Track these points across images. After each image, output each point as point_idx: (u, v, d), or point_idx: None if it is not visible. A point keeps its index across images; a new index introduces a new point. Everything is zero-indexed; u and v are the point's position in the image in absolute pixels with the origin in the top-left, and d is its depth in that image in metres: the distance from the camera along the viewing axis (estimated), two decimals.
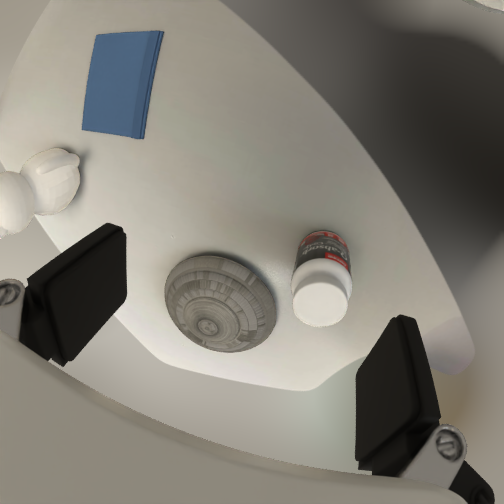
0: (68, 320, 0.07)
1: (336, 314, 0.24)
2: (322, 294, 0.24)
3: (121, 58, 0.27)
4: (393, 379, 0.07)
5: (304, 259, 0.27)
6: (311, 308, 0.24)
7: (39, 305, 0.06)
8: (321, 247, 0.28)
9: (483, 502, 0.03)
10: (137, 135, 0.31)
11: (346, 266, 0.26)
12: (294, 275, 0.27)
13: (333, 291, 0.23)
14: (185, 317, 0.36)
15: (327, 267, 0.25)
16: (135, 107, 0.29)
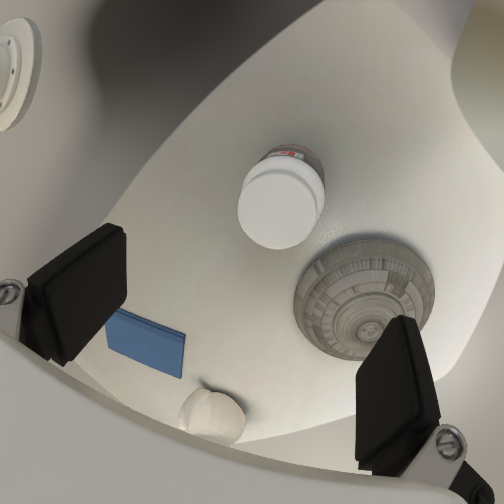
0: (68, 320, 0.07)
1: (288, 189, 0.16)
2: (255, 211, 0.17)
3: (123, 335, 0.40)
4: (393, 379, 0.07)
5: None
6: (281, 224, 0.17)
7: (39, 305, 0.06)
8: None
9: (483, 502, 0.03)
10: (180, 339, 0.37)
11: (255, 164, 0.20)
12: None
13: (248, 196, 0.17)
14: (360, 350, 0.27)
15: None
16: (158, 334, 0.38)
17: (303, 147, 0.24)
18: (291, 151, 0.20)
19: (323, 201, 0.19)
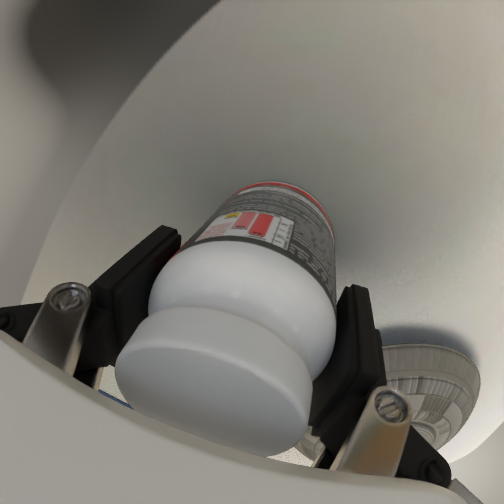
0: (131, 322, 0.08)
1: (227, 383, 0.05)
2: (155, 401, 0.06)
3: None
4: (340, 342, 0.08)
5: None
6: (219, 431, 0.06)
7: (105, 308, 0.07)
8: None
9: (435, 475, 0.04)
10: None
11: (178, 251, 0.09)
12: None
13: (131, 375, 0.06)
14: None
15: None
16: None
17: (296, 188, 0.12)
18: (264, 213, 0.09)
19: (331, 351, 0.08)
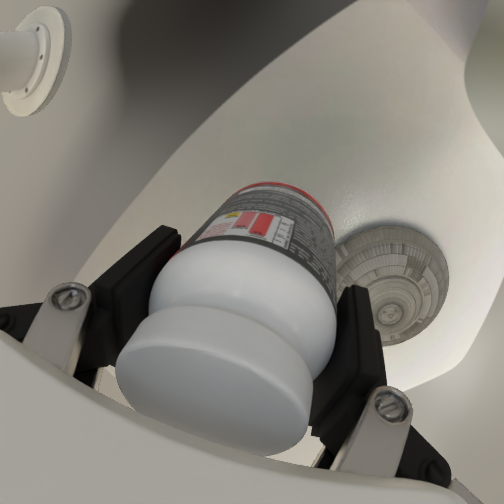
0: (131, 322, 0.08)
1: (228, 382, 0.05)
2: (155, 401, 0.06)
3: None
4: (340, 342, 0.08)
5: None
6: (220, 431, 0.06)
7: (105, 308, 0.07)
8: None
9: (434, 475, 0.04)
10: None
11: (178, 250, 0.09)
12: None
13: (132, 374, 0.06)
14: None
15: None
16: None
17: (297, 188, 0.12)
18: (264, 213, 0.09)
19: (331, 350, 0.08)
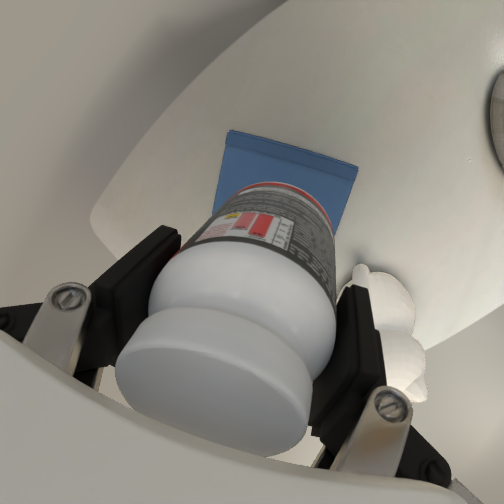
0: (131, 322, 0.08)
1: (227, 383, 0.05)
2: (155, 402, 0.06)
3: (251, 184, 0.30)
4: (340, 342, 0.08)
5: None
6: (219, 432, 0.06)
7: (105, 308, 0.07)
8: None
9: (435, 475, 0.04)
10: (353, 171, 0.27)
11: (178, 251, 0.09)
12: None
13: (131, 376, 0.06)
14: None
15: None
16: (318, 169, 0.27)
17: (296, 189, 0.12)
18: (264, 214, 0.09)
19: (330, 351, 0.08)
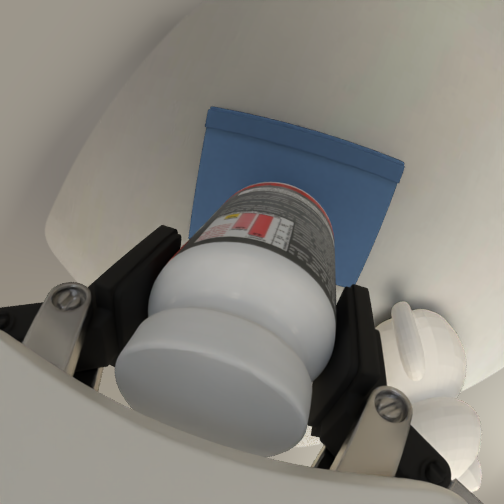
0: (131, 322, 0.08)
1: (227, 384, 0.05)
2: (155, 402, 0.06)
3: (244, 187, 0.20)
4: (340, 342, 0.08)
5: None
6: (219, 432, 0.06)
7: (105, 308, 0.07)
8: None
9: (434, 475, 0.04)
10: (397, 168, 0.17)
11: (177, 252, 0.09)
12: None
13: (131, 376, 0.06)
14: None
15: None
16: (346, 164, 0.18)
17: (296, 189, 0.12)
18: (264, 214, 0.09)
19: (330, 351, 0.08)
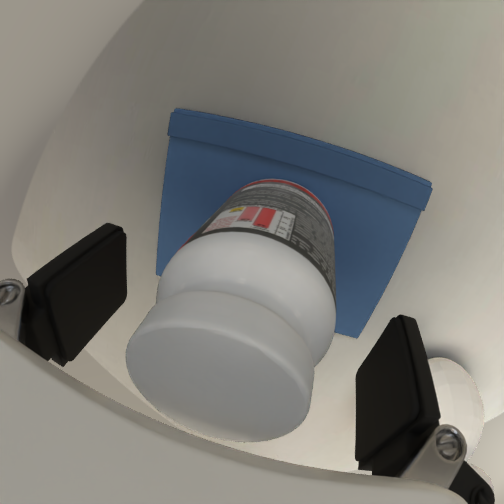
0: (68, 320, 0.07)
1: (235, 361, 0.06)
2: (164, 384, 0.07)
3: None
4: (393, 379, 0.07)
5: None
6: (225, 413, 0.07)
7: (39, 305, 0.06)
8: None
9: (483, 502, 0.03)
10: (423, 191, 0.12)
11: None
12: None
13: (142, 358, 0.06)
14: None
15: None
16: (355, 185, 0.13)
17: (297, 185, 0.13)
18: (267, 208, 0.10)
19: (331, 337, 0.08)
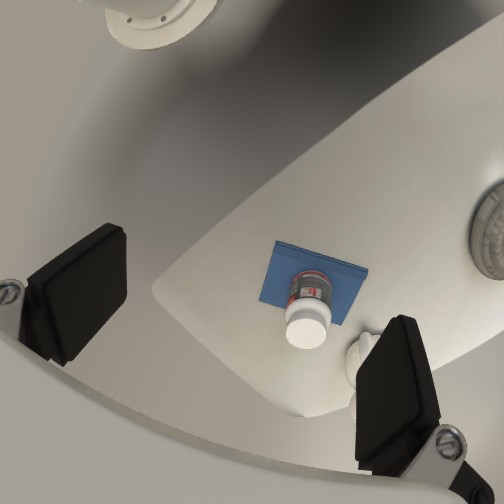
0: (68, 320, 0.07)
1: (313, 325, 0.32)
2: (295, 333, 0.33)
3: (291, 279, 0.41)
4: (393, 379, 0.07)
5: None
6: (308, 339, 0.33)
7: (39, 305, 0.06)
8: None
9: (483, 502, 0.03)
10: (364, 274, 0.38)
11: (293, 298, 0.35)
12: None
13: (292, 327, 0.32)
14: None
15: (287, 317, 0.35)
16: (340, 272, 0.39)
17: (320, 273, 0.39)
18: (314, 288, 0.36)
19: (330, 321, 0.34)
